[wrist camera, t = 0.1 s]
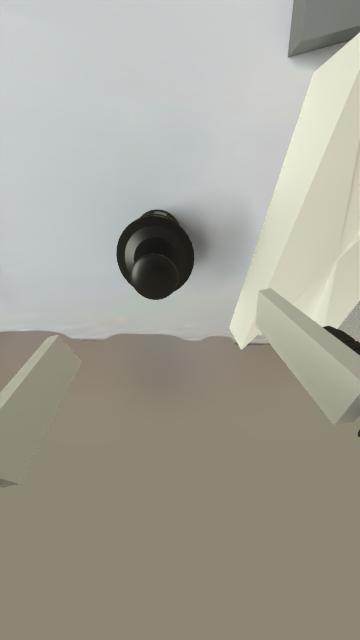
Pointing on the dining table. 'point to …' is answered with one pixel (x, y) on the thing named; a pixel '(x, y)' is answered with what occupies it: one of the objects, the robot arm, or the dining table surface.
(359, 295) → the building model
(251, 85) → the dining table surface
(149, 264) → the french press
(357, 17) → the stool seat
